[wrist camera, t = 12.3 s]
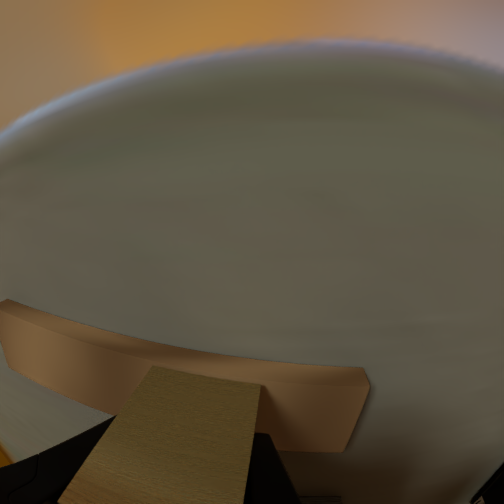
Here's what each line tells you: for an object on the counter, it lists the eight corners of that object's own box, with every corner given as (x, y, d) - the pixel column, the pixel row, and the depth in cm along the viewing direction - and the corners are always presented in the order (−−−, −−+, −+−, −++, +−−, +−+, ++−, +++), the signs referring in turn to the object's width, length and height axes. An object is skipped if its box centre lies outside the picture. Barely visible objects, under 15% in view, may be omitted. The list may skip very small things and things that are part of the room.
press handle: (260, 384, 7) (232, 561, 2) (251, 452, 8) (227, 586, 3) (152, 365, 8) (57, 501, 3) (161, 434, 8) (103, 551, 3)
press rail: (362, 367, 8) (370, 386, 7) (339, 432, 9) (343, 452, 8) (7, 298, 9) (-8, 306, 8) (21, 357, 10) (8, 367, 9)
